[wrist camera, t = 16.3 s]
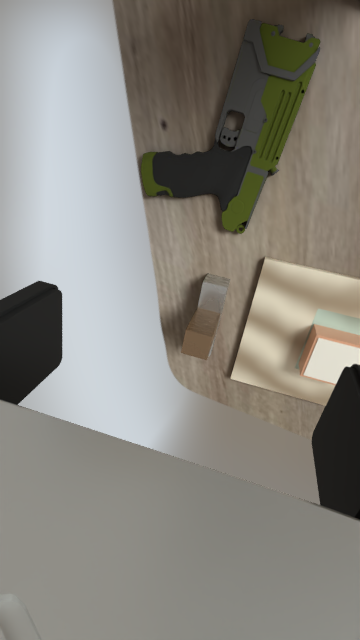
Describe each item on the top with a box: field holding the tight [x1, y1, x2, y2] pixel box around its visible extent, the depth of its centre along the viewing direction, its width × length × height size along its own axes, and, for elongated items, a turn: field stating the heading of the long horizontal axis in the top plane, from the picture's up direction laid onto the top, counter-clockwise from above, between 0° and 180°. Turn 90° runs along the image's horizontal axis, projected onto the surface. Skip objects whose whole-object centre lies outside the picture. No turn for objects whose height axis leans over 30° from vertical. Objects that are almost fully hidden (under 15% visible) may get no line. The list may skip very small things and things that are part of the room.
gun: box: [141, 19, 320, 234], centre depth 36 cm, size 2×19×15 cm
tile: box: [298, 324, 360, 385], centre depth 41 cm, size 6×6×3 cm
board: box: [231, 257, 360, 406], centre depth 43 cm, size 18×14×1 cm
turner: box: [181, 274, 230, 360], centre depth 41 cm, size 10×3×10 cm, turn 170°
